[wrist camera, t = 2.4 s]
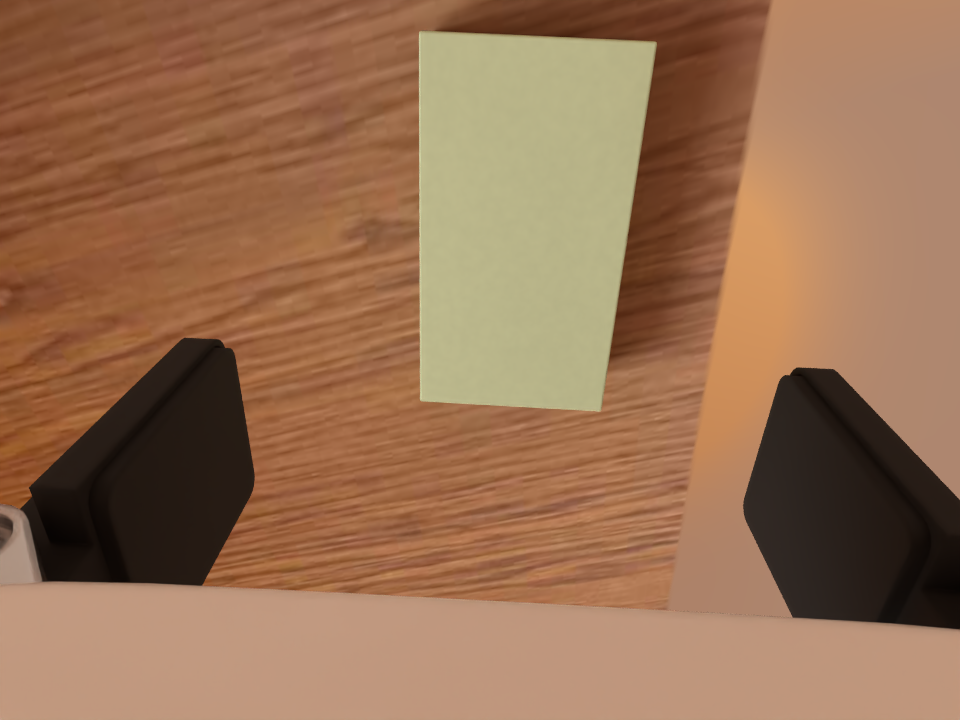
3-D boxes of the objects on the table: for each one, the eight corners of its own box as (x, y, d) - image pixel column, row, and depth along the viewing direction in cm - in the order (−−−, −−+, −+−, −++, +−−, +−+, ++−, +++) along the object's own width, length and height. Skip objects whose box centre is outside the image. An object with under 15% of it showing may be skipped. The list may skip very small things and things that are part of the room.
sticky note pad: (430, 30, 20) (418, 30, 17) (638, 40, 20) (658, 41, 17) (429, 363, 26) (420, 402, 23) (591, 372, 26) (601, 412, 23)
